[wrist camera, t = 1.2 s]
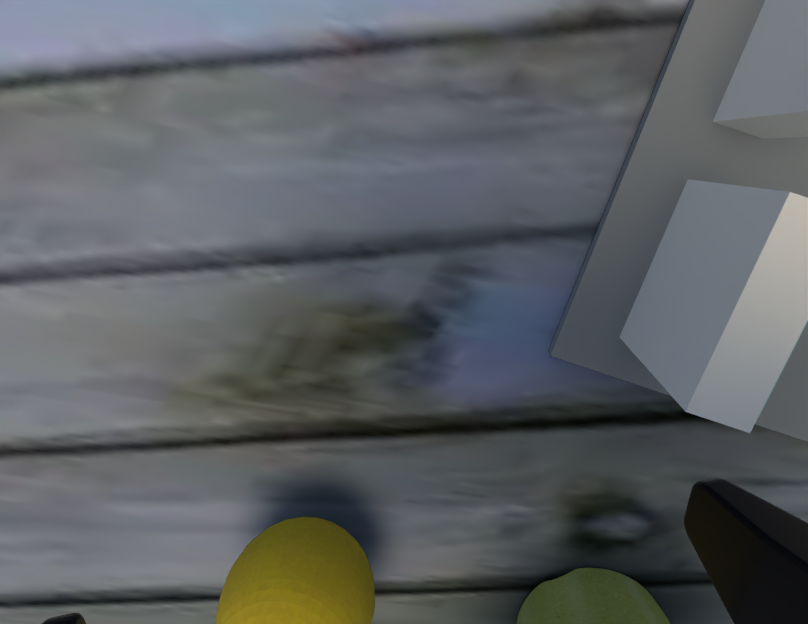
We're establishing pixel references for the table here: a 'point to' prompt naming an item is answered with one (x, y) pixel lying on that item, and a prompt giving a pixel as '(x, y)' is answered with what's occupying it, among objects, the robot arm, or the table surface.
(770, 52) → the tile
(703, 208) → the tile
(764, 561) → the robot arm
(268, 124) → the table surface
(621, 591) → the plant pot
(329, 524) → the lemon
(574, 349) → the slate mat
